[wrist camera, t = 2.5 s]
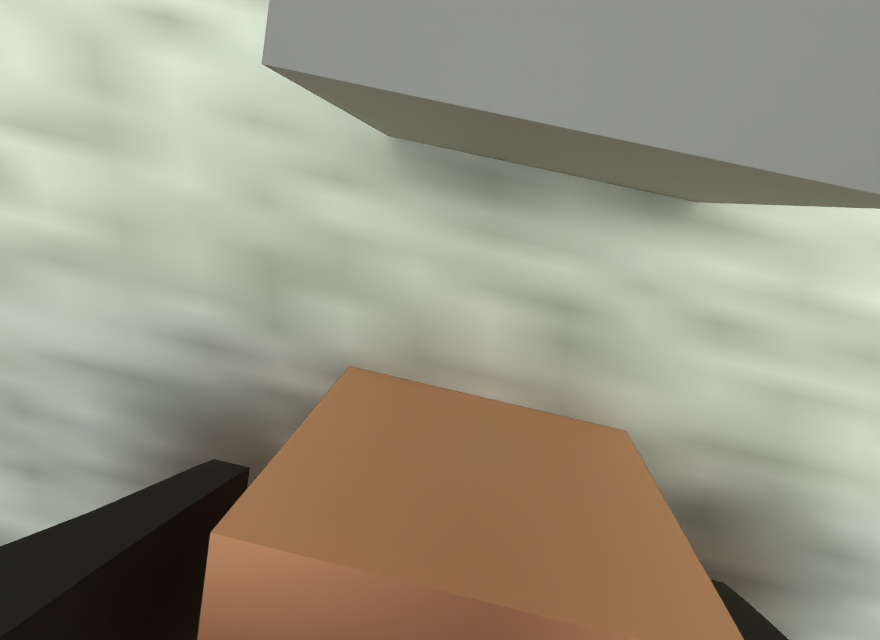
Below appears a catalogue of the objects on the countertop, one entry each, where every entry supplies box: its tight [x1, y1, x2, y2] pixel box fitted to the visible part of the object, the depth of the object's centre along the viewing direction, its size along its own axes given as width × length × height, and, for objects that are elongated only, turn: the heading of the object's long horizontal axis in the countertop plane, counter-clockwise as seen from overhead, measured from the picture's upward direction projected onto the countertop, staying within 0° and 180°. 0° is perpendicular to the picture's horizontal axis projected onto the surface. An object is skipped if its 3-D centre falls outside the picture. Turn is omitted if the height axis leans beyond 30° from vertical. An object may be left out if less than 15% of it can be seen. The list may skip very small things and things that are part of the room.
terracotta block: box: [197, 366, 744, 640], centre depth 8 cm, size 5×5×5 cm
